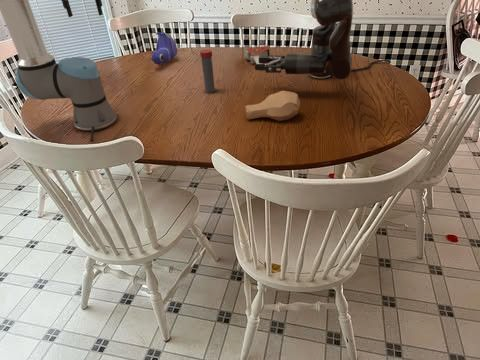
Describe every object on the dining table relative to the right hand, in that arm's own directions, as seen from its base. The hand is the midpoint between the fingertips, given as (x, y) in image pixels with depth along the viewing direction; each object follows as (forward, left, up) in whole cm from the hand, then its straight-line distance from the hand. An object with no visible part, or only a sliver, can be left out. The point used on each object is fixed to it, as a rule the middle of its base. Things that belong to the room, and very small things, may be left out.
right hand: (256, 63), depth 141 cm
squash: (+1, +24, -12) cm, 27 cm away
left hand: (+66, -45, +16) cm, 81 cm away
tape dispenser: (-10, -38, -12) cm, 42 cm away
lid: (+19, -9, +4) cm, 21 cm away
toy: (+35, -54, -12) cm, 65 cm away
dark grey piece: (+19, -9, -12) cm, 24 cm away
